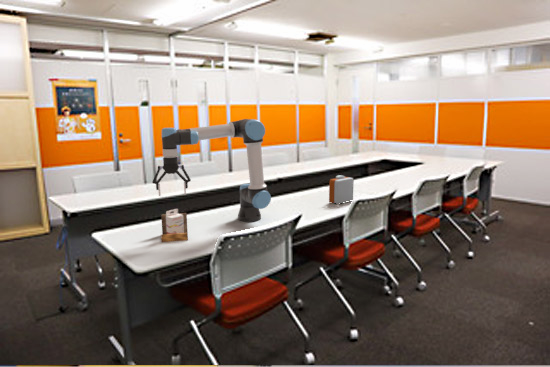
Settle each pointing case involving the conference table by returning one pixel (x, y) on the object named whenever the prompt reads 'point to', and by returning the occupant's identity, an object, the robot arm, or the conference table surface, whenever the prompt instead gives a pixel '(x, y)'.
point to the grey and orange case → (341, 189)
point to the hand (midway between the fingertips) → (172, 195)
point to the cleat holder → (177, 236)
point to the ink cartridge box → (174, 222)
